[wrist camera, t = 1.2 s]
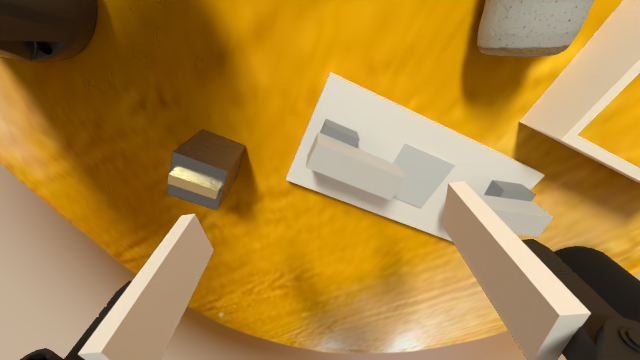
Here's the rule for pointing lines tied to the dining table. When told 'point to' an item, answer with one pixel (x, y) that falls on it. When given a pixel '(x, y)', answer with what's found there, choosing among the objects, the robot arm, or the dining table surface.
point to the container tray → (592, 87)
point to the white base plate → (406, 163)
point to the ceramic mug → (530, 26)
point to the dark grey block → (204, 169)
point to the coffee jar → (605, 279)
